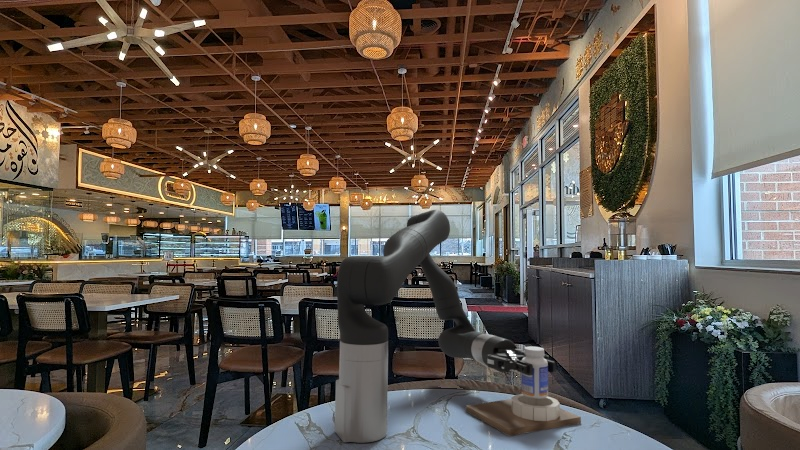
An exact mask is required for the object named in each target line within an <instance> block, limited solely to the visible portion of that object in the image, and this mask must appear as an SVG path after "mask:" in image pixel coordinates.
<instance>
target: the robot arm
mask: <svg viewBox="0 0 800 450" xmlns="http://www.w3.org/2000/svg"><path fill="white" fill-rule="evenodd" d="M450 232H451V225H450V221H449V218H448V216H447V215H446V214H445V213H444V212H443V211H442V210H440V209H431V210H428V211H425V212H421V213H419V214H416V215H413V216H410V217H409V218H408V219H407V221H406V226H405V227H404V228H402V229H399V230H397V231H396V232H395V233H393V234H392V235H391V236H390V237H389V238H388V239H387V240H386V242H385V243H384V245H383V252H382V255H383V256H361V255H360V256H347V257H345V258H344V259H343V260H342V261H341V263H340V264H339V267H338V271H337V279H336V295H337V296H336V298H337V299H336V300H337V325H338V330H339V361H338V362H339V364H338V365H339V367H338V369H339V370H338V379H336V380H335V397H334V398H335V399H334V400H335V402H334V405H335V406H334V407H335V409H334V432H335V433H336V435H337V436H338V437H339V439H340V440H341V441H342V442H343V443H358V444H359V443H362V444H364V443H372V442H377V441H379V440H382V439H383V438H385V437H386V436H387V433H388V385H389V384H388V379H389V377H388V376H389V328H388V326H387V325H386V324H385V323H383V322H381V321H379V320H377V319H376V318H374V317H372V316H371V315H370V314H369V313H367V311H366V310H365V306H364V305H367V306H383V305H386V304H389V303H391V301H393V299H394V298H395V296H396V295H397V294H398V292H399V290H400V289H401V287H402V286H403V284H404V283H405V280H406V279H407V278H408V277H409V275H410V274H412V273H413V271H414V270H415V269H416V268H417V267H418V266H419V265H420V268H421V269H422V272H423V274H424V276H425V279H426V281H427V283H428V286H429V289H430V292H431V296H432V299H433V303H434V307H435V310H436V313H437V316H438V318H439V319H440V320H442V321H450V320H452V321H453V322H454V323H455V326H453V327H450V328H447V329H445V330H443V331H442V332H441V333H440V334H439V336H438V339H437V340H438V346H439V348H440V350H441V351H442V353H444V354H445V355H447V356H448V357H451V358H454V359H456V358H457V359H470V360H473V361H475V362H478V363H479V364H481V365H483V366H485V367H488V368H490V369H493V370H495V371H498V372H500V373H509V372H514V373H524V374H526V375H533V365H532V364H530V363H527V362H524V361H521V360H522V359H523V358H524V357H526V355H525V353H524V351H525V350H523V349H520V348H518V347H517V346H516V344H515V343H514V342H513V341H512V340H511V339H507V338H504V337H500V336H497V335H495V334H494V335H493V334H488V333H487V334H486V333H484V332H483V333H482V332H480V331H476V330H475V327H474V326H473V324H472V323H471V321H470V319H469V318H468V315H466V313H465V310H464V309H463V306H462V303H461V299H460V295H459V292H458V289H457V286H456V284H455V282H454V280H453V279H452V278H451V277H450V276H449V275H448V274H447V273H446V272H445V271H444V270H443V269H442V268H441V267H440V266H439V265H438V264H437V262H435V260H434V259H433V257H432V256H431V255H432V254H431V252H432V251H433V250H434V249H435V248H436V247H437V246H438V245H440V244H441V243H444V242H445V241H446V240H448V238H449V236H450ZM549 357H550V356H549V355H547V354H546V353H544V356H543V358H544V359H546V360H547V362H548V373H551V374H552V373H556V371H557V370H556V369H557V364H556V362H555V361H554V360H551V359H549Z"/></svg>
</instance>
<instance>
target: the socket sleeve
mask: <svg viewBox="0 0 800 450" xmlns="http://www.w3.org/2000/svg"><path fill="white" fill-rule="evenodd" d="M510 399H511V409H512V412H513V414H515V415H517V416H519V417H522V418H525V419H529V420H534V421H550V420H556V419H557V418H558V417H559V416H560V408H561V404H560V402H559V400H558V399H556V398H554V397H552V396H549V395H548V396H547V397H546V398H542V399H536V398H529V397H526V396H524V395H523V394H522V393H520V394H519V393H518V394H514V395H513V396H512V397H511V398H510Z"/></svg>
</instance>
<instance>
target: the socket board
mask: <svg viewBox="0 0 800 450" xmlns="http://www.w3.org/2000/svg"><path fill="white" fill-rule="evenodd" d="M465 412H467V413H468V414H470V415H472V416H474V417H475V418H476V419H479V420H480V421H482V422H484V423H486V424H487V425H489V426H490V427H492V428H494V429H496V430H498V431H499V432H501V433H503V434H505V435H506V436H508V437H513V436H517V435H522V434H528V433H534V432H539V431H545V430H550V429H555V428H562V427H567V426H573V425H578V424H581V423H582V417H581V416H579V415H577V414H575V413H573V412H570V411H569V410H568V411H567V410H565V409H563V408H561V407H560V416H559V417H558V418H557V419H556V420H550V421H534V420H529V419H525V418H522V417H519V416H517V415H515V414H513V412H512V409H511V398H508V399H507V398H506V399H503V400H502V399H501V400H493V401H487V402H480V403H473V404H465Z"/></svg>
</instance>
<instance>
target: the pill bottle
mask: <svg viewBox="0 0 800 450" xmlns="http://www.w3.org/2000/svg"><path fill="white" fill-rule="evenodd" d="M523 351H524V353H525V355H526V357H524V358H523V359H522V360H521V361H524V362H527V363H530V364H532V365H533V375H526V374H524V373H521V372H520V373H521V374H520V377H521V383H520V384H521V394H523V395H524V396H526V397H529V398H536V399H542V398H546V397H547V396H549V372H548V362H547V360H546V359H544V358H543V356H544V354H545V349H544V348H543V347H540V346H534V345H533V346H532V345H531V346H525V347H524V350H523Z"/></svg>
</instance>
